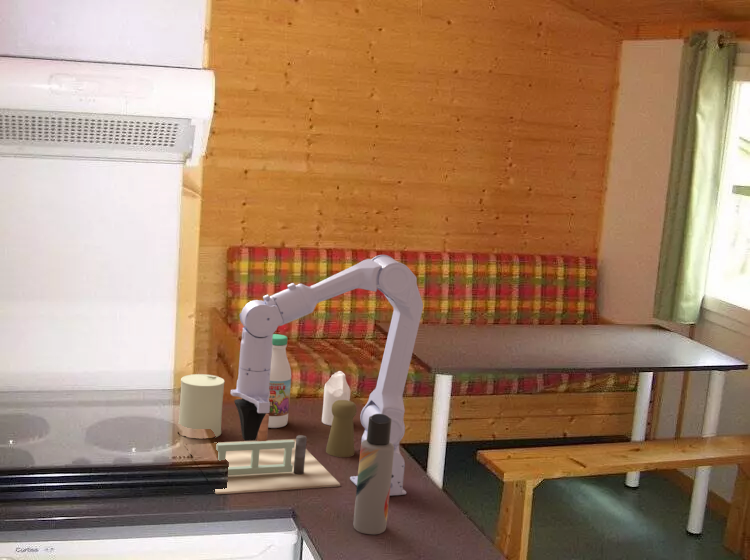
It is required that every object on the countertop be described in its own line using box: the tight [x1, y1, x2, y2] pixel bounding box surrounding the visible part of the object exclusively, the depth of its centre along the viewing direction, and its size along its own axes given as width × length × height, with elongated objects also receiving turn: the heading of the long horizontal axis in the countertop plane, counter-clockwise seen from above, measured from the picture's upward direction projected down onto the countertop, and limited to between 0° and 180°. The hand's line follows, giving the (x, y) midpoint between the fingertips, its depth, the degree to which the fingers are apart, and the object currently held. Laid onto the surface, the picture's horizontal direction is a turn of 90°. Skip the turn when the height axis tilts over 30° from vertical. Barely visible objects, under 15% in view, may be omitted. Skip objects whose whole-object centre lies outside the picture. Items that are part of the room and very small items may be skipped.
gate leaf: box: [216, 439, 295, 476], centre depth 190 cm, size 15×1×6 cm, turn 113°
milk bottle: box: [267, 333, 292, 429], centre depth 222 cm, size 8×8×20 cm
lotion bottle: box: [353, 414, 394, 535], centre depth 170 cm, size 6×6×20 cm
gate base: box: [214, 413, 341, 495], centre depth 196 cm, size 26×24×8 cm
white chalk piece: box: [321, 370, 351, 426], centre depth 228 cm, size 6×12×6 cm
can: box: [178, 373, 226, 438], centre depth 212 cm, size 9×9×12 cm
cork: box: [325, 400, 358, 458], centre depth 208 cm, size 6×6×11 cm
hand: (249, 439), depth 183 cm, fingers closed
